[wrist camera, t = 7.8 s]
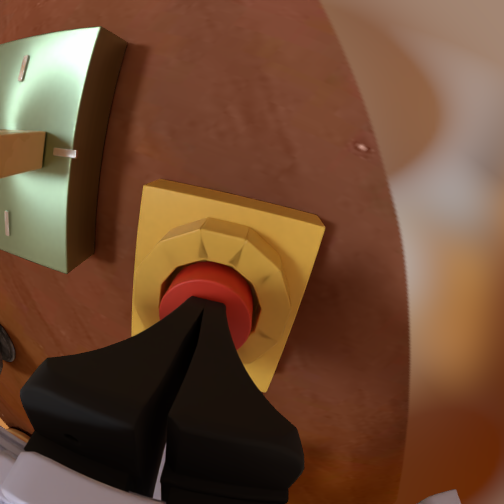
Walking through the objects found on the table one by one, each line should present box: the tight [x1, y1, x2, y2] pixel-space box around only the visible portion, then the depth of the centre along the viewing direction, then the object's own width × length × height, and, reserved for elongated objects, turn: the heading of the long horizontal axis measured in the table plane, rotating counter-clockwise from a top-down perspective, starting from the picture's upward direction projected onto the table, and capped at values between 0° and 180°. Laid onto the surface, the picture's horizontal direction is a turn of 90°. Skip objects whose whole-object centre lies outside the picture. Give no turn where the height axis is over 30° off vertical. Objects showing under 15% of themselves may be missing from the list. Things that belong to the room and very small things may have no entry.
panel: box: [0, 26, 127, 274], centre depth 12 cm, size 12×10×3 cm
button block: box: [132, 179, 325, 392], centre depth 14 cm, size 10×8×4 cm
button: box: [159, 262, 253, 350], centre depth 12 cm, size 4×4×2 cm
